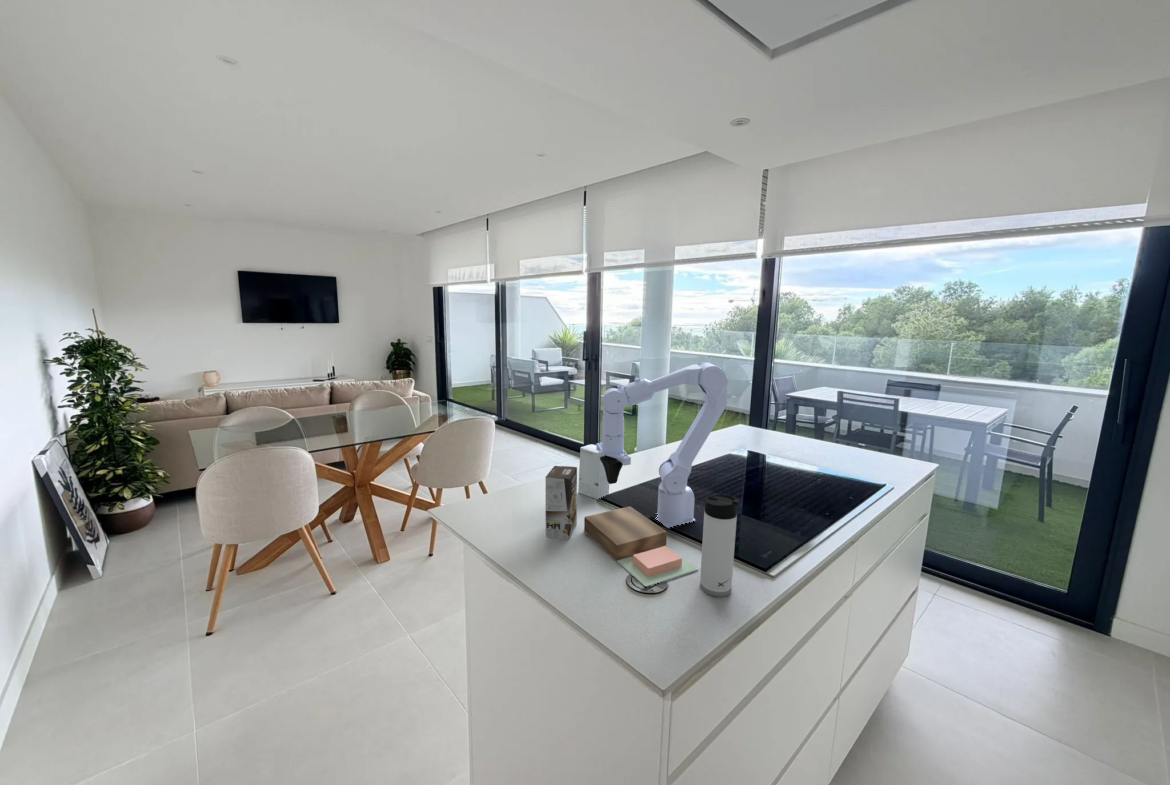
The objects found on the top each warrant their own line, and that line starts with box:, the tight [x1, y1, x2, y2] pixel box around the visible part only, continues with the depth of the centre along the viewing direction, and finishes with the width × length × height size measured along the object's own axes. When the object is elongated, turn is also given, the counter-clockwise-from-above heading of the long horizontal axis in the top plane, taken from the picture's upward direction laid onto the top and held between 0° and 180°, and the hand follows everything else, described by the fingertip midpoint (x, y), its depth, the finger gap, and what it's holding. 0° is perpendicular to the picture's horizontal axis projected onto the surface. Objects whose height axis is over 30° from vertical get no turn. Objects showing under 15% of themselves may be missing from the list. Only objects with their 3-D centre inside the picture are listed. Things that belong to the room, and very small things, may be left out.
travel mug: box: [699, 494, 741, 598], centre depth 93 cm, size 6×7×20 cm
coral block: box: [633, 545, 682, 577], centre depth 102 cm, size 9×6×2 cm, turn 117°
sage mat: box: [617, 545, 699, 586], centre depth 102 cm, size 14×11×1 cm
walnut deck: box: [583, 506, 668, 562], centre depth 114 cm, size 14×16×4 cm
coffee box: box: [545, 465, 578, 541], centre depth 117 cm, size 9×6×16 cm
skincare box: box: [577, 444, 610, 500], centre depth 140 cm, size 8×6×15 cm
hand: (612, 482), depth 123 cm, fingers closed
